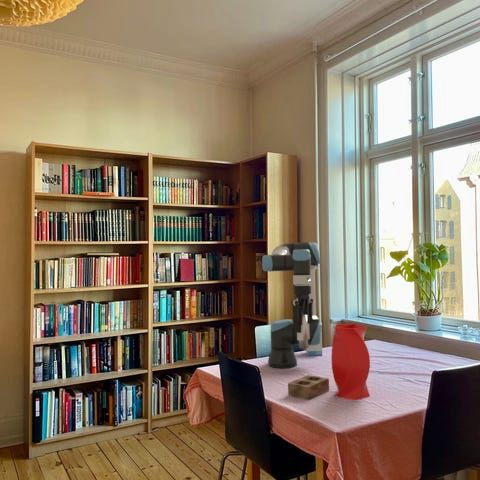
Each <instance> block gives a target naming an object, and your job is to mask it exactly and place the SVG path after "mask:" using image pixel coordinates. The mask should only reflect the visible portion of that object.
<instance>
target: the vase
mask: <svg viewBox="0 0 480 480" xmlns="http://www.w3.org/2000/svg"><path fill="white" fill-rule="evenodd" d="M333 328H334V333H333V338H332V345H331V370H332V375H333V380H334V382H335V386H336V389H337V392H336V394H335V395H334V397H336V398H341V399H346V400H351V401H357V400H362V399H366V398H370V396H371V395H370V393H369V388H368V386H367V380H368V377H369V373H370V367H371V358H370V353H369V350H368V347H367V344H366V342H365V339H364V337H365V335H366V331H367V329H368V326H367V325H363V324H358V323H336V324H335V325H334V326H333Z"/></svg>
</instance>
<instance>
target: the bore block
mask: <svg viewBox="0 0 480 480" xmlns="http://www.w3.org/2000/svg"><path fill="white" fill-rule="evenodd" d="M329 391H330V378H328V377H323V376H317V375H311V374H307V375H305V376H302V377H300V378H297V379H295V380H292V381H290V382H288V383H287V396H289V397H293V398H294V397H295V398H297V399H302V400H307V401H310V400H312V399H315V398H317V397H318V396H320V395H323V394H324V393H327V392H329Z"/></svg>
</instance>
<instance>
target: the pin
mask: <svg viewBox="0 0 480 480" xmlns="http://www.w3.org/2000/svg"><path fill="white" fill-rule="evenodd" d="M302 325H303V338H304V340H303V341H301V340H299V345H298V348H299V349H302V350H303V349H304V350H306V349H307V348H308V322H307V315H303V317H302Z"/></svg>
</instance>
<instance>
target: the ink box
mask: <svg viewBox="0 0 480 480" xmlns="http://www.w3.org/2000/svg"><path fill="white" fill-rule="evenodd" d="M322 339H323V337H322V334H321V337H320V343H319V344H318V345H311V346H310V345H308V348H307V349H305V353H306V352H307V353H306V354H308V355H317V356H323V342H322V341H323V340H322ZM308 355H307V356H308Z"/></svg>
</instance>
